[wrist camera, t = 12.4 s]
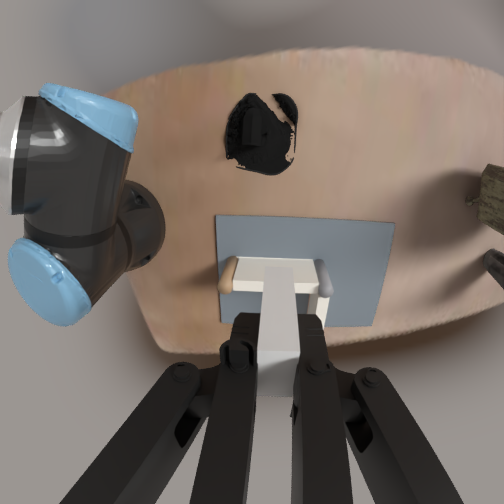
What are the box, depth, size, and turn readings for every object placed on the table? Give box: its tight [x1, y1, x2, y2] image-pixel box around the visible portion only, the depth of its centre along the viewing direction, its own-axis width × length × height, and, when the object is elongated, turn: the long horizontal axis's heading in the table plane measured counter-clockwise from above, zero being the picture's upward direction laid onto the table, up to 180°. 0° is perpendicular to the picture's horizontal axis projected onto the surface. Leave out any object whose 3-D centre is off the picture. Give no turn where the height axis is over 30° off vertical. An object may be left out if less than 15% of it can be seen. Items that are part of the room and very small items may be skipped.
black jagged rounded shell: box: [226, 93, 298, 175], centre depth 35 cm, size 12×10×5 cm
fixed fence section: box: [217, 256, 334, 298], centre depth 40 cm, size 16×2×9 cm, turn 90°
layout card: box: [216, 215, 395, 327], centre depth 44 cm, size 28×20×1 cm
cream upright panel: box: [307, 291, 330, 329], centre depth 42 cm, size 11×2×7 cm, turn 179°
